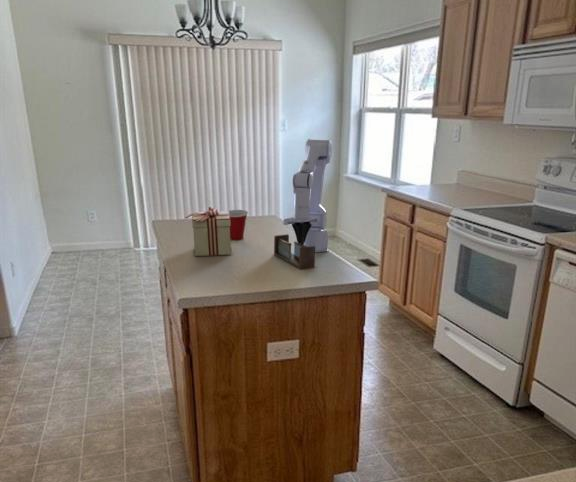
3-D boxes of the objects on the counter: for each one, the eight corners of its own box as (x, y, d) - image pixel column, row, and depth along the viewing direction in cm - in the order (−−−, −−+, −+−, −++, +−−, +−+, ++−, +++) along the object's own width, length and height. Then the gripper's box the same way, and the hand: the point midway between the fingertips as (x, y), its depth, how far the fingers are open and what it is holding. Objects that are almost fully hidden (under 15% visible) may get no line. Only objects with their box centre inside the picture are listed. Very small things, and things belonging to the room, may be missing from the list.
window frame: (287, 253, 218) (287, 234, 215) (314, 267, 200) (315, 246, 197) (274, 255, 215) (274, 235, 212) (300, 269, 197) (301, 248, 194)
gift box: (185, 247, 223) (183, 206, 217) (229, 245, 227) (228, 205, 221) (187, 258, 208) (185, 214, 201) (234, 256, 212) (233, 213, 205)
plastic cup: (219, 239, 237) (219, 212, 232) (231, 234, 246) (230, 208, 242) (241, 242, 233) (241, 215, 229) (252, 237, 242) (252, 210, 238)
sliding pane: (295, 256, 209) (296, 234, 206) (307, 262, 202) (308, 239, 199) (293, 256, 209) (294, 234, 206) (305, 262, 201) (305, 240, 198)
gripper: (289, 209, 191) (289, 246, 196) (324, 206, 198) (322, 242, 203) (280, 206, 197) (280, 242, 202) (314, 203, 203) (313, 238, 208)
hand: (300, 242), depth 203 cm, fingers closed, pressing on sliding pane
